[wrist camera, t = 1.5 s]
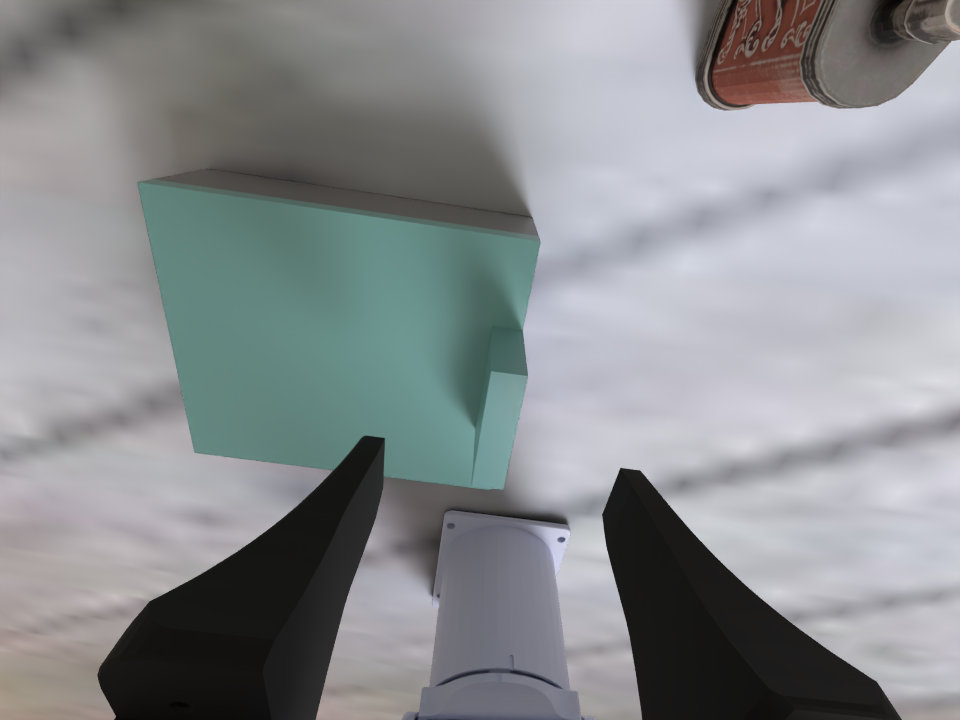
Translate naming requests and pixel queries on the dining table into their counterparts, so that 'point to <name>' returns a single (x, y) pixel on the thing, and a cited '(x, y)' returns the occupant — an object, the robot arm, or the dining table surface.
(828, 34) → the lighter
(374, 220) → the lid
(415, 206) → the tub
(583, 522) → the dining table surface
